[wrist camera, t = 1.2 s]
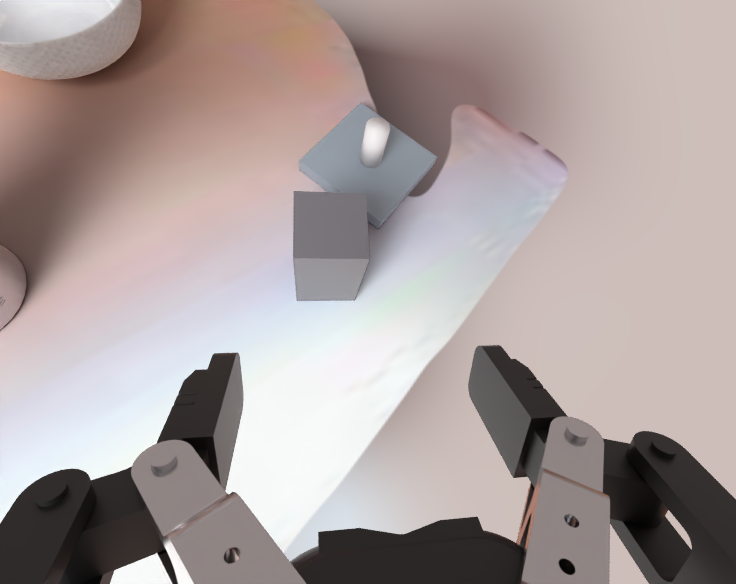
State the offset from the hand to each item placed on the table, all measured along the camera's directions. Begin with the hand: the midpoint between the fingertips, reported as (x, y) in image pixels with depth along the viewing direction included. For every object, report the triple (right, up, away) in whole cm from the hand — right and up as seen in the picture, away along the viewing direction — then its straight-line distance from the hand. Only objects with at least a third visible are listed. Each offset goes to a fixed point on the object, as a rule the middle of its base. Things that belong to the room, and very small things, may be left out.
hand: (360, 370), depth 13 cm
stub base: (0, +16, +28) cm, 32 cm away
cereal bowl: (-30, +28, +28) cm, 50 cm away
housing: (-4, +4, +23) cm, 24 cm away
